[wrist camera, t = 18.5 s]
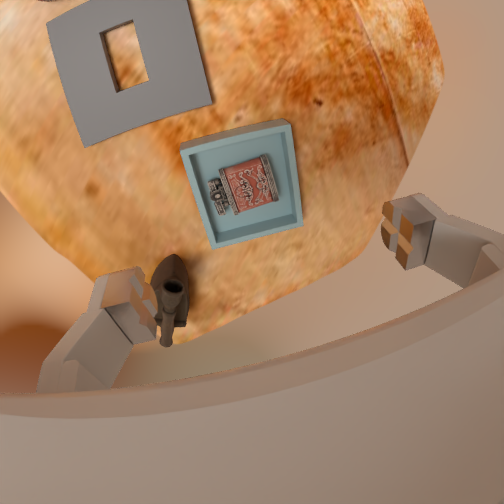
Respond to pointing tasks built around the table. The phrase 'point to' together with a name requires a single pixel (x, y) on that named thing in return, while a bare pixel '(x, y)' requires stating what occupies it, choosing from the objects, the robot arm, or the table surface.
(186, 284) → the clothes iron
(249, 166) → the lighter
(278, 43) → the table surface
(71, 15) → the gray plate with hole
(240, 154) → the parts tray
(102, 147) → the table surface
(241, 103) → the table surface
